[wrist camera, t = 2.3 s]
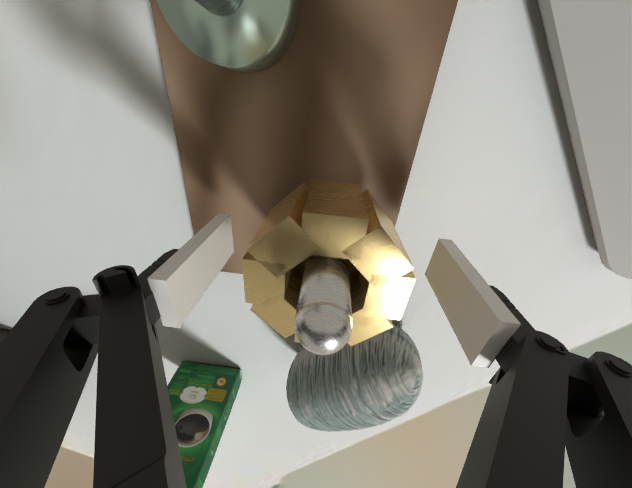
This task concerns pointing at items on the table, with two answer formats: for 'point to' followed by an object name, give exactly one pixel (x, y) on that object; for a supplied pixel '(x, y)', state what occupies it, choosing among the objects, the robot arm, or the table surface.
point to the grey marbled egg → (356, 383)
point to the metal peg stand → (234, 30)
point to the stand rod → (324, 305)
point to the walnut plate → (306, 110)
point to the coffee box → (201, 413)
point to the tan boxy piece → (329, 241)
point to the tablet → (598, 112)
